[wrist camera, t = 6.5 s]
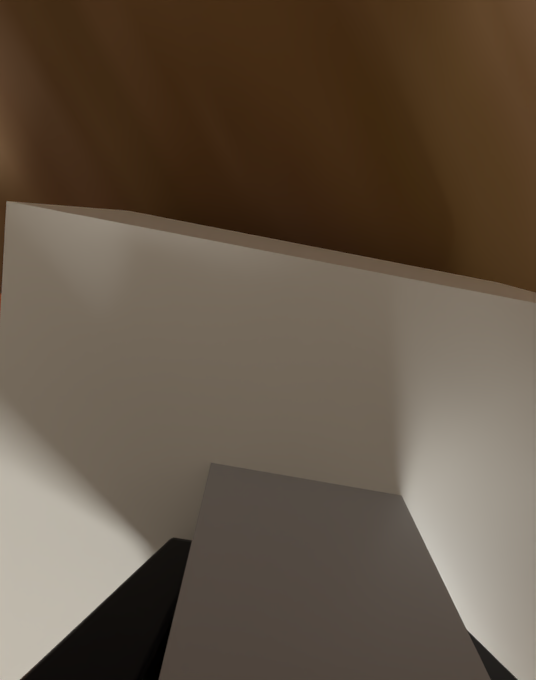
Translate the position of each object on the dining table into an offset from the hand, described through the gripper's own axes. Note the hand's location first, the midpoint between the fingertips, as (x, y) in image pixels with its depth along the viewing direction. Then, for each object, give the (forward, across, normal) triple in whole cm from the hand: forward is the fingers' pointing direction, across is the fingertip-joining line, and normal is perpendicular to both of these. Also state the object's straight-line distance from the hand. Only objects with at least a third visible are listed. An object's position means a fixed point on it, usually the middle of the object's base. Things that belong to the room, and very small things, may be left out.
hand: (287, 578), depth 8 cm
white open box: (+6, 0, 0) cm, 6 cm away
